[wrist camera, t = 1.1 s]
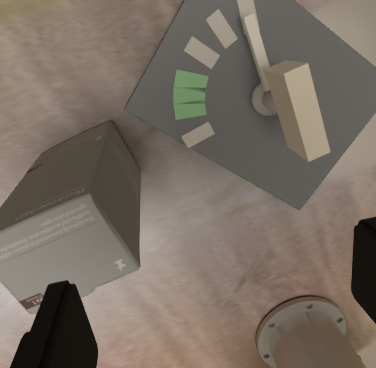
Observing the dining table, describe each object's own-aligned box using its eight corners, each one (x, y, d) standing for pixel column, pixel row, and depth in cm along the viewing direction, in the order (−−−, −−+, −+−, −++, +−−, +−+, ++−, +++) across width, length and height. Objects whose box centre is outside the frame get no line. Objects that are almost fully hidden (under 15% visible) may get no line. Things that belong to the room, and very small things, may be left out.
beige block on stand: (291, 123, 34) (339, 148, 26) (262, 136, 34) (300, 165, 26) (258, 9, 30) (302, -4, 22) (224, 24, 30) (256, 18, 22)
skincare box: (112, 117, 33) (90, 177, 19) (145, 179, 36) (148, 271, 21) (34, 154, 34) (-46, 240, 19) (73, 212, 36) (29, 325, 22)
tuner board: (388, 83, 35) (398, 84, 34) (294, 206, 40) (299, 212, 38) (215, -58, 29) (219, -63, 27) (124, 108, 33) (123, 111, 32)
